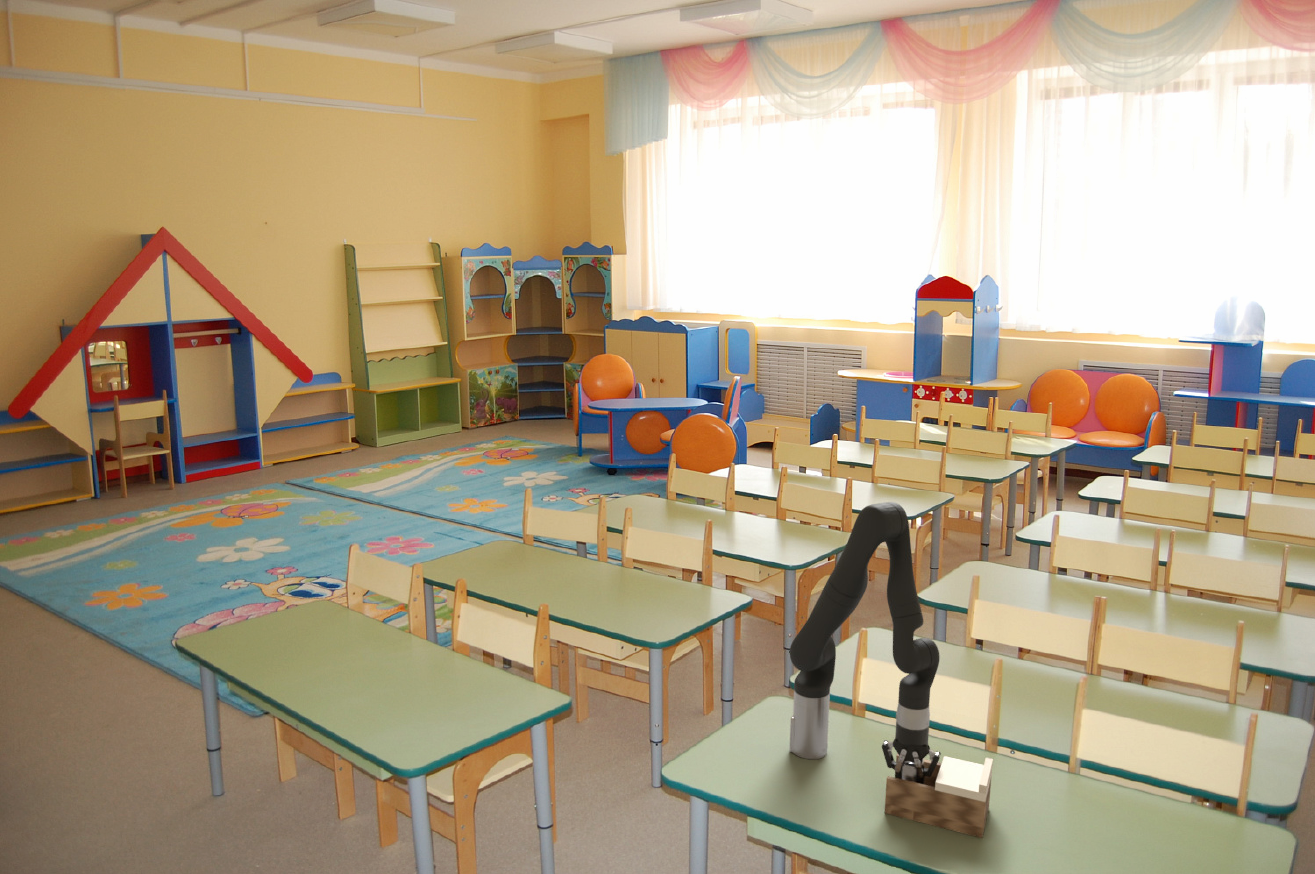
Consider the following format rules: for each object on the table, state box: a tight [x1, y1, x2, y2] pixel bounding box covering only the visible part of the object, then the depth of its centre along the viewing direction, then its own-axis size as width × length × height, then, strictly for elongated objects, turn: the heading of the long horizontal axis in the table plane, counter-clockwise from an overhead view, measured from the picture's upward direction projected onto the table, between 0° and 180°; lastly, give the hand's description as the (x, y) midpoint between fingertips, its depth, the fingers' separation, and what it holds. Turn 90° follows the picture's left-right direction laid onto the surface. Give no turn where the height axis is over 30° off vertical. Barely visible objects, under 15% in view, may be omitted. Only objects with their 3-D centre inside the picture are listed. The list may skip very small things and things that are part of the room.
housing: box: [884, 752, 992, 839], centre depth 225 cm, size 22×12×9 cm, turn 65°
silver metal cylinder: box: [901, 761, 918, 783], centre depth 228 cm, size 4×4×7 cm
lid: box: [935, 755, 994, 802], centre depth 222 cm, size 11×12×4 cm
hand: (908, 786), depth 228 cm, fingers closed on silver metal cylinder, 4 cm apart
